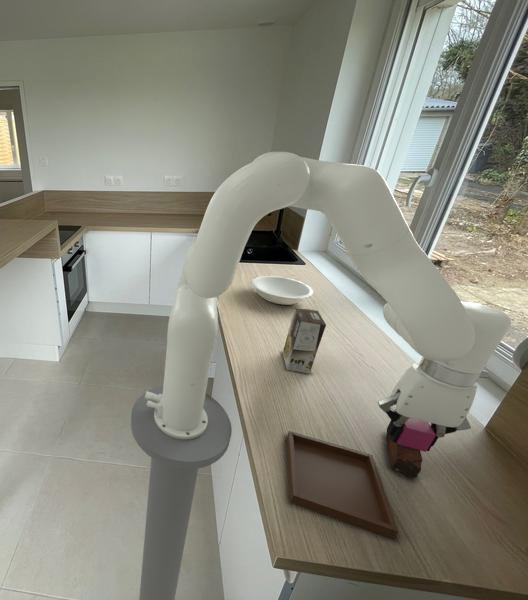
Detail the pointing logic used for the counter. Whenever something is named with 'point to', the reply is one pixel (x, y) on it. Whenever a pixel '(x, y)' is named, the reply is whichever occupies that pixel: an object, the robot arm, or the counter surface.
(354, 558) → the counter surface
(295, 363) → the coffee box
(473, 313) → the robot arm
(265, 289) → the soup bowl
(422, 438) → the mulberry cube
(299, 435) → the tray
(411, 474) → the brick
